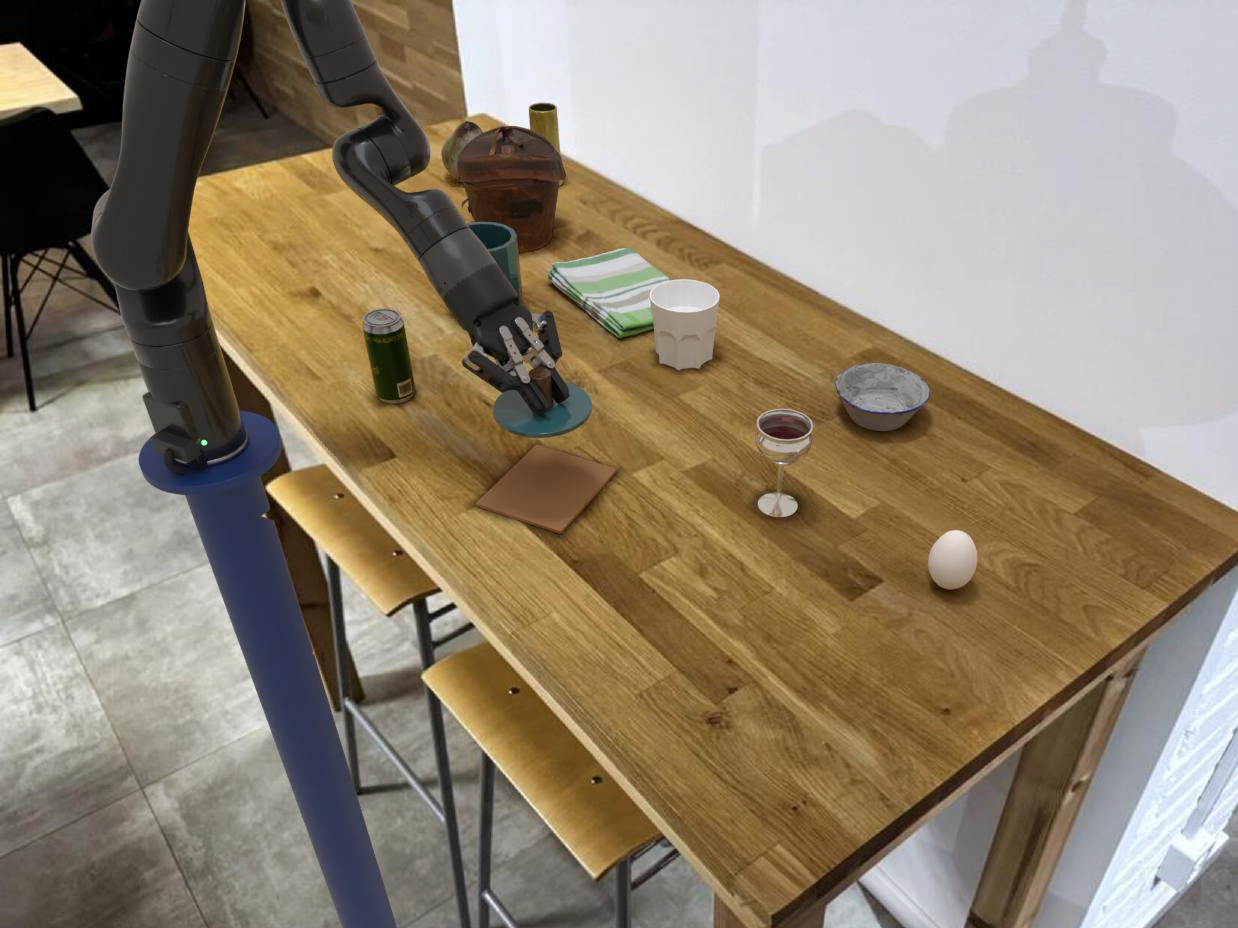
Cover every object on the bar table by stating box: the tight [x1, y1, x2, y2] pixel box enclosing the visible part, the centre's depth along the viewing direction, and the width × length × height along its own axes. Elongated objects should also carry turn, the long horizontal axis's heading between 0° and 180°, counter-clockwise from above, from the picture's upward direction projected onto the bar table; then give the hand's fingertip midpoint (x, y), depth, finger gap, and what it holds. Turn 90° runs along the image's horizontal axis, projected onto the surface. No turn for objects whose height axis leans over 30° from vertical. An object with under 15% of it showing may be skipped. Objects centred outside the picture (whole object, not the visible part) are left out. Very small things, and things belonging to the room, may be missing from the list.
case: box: [457, 125, 567, 253], centre depth 183 cm, size 18×20×18 cm
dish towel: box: [547, 247, 672, 339], centre depth 172 cm, size 17×23×4 cm
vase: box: [528, 102, 565, 187], centre depth 204 cm, size 6×6×14 cm
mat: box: [475, 444, 618, 535], centre depth 134 cm, size 14×12×1 cm
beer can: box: [361, 308, 416, 405], centre depth 146 cm, size 5×5×12 cm
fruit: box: [440, 120, 484, 183], centre depth 205 cm, size 10×9×12 cm
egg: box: [927, 529, 978, 590], centre depth 121 cm, size 5×5×8 cm
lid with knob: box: [492, 367, 593, 439], centre depth 125 cm, size 12×12×6 cm
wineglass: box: [754, 408, 814, 518], centre depth 129 cm, size 7×7×12 cm
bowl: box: [834, 362, 931, 432], centre depth 148 cm, size 13×13×5 cm
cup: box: [650, 278, 721, 371], centre depth 157 cm, size 10×10×10 cm
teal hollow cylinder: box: [466, 221, 524, 306], centre depth 164 cm, size 11×11×12 cm
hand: (554, 405), depth 125 cm, fingers closed on lid with knob, 2 cm apart
